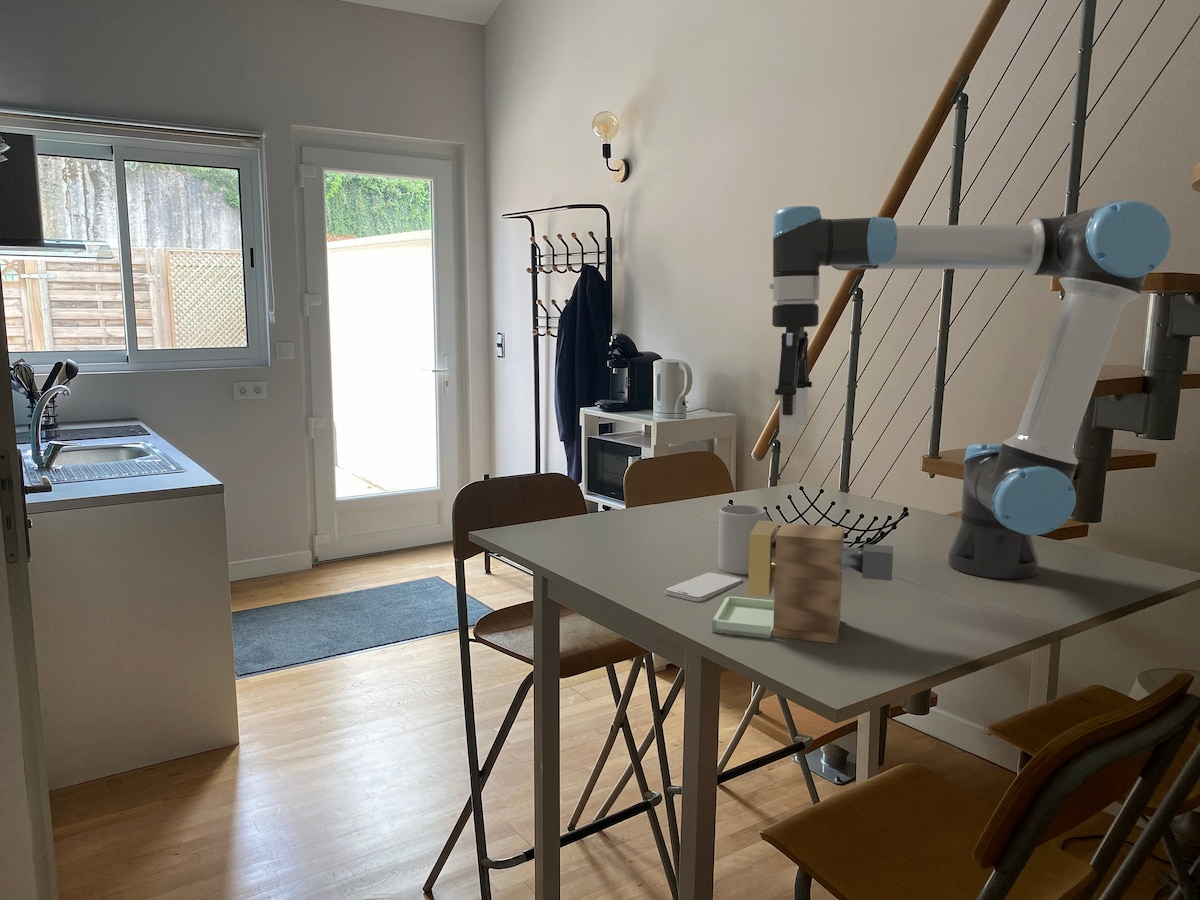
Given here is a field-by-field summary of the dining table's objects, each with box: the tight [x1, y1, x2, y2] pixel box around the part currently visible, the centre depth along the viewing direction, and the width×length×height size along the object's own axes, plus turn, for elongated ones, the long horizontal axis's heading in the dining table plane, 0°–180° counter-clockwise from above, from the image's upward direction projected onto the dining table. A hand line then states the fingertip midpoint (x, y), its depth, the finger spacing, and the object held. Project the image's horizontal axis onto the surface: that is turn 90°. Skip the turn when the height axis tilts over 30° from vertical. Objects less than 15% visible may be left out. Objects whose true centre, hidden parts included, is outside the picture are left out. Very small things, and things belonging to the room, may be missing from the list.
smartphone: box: [664, 572, 743, 603], centre depth 151 cm, size 7×1×15 cm
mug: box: [717, 504, 771, 576], centre depth 162 cm, size 12×8×11 cm
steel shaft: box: [771, 541, 894, 581], centre depth 129 cm, size 20×4×4 cm, turn 72°
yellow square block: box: [747, 520, 779, 599], centre depth 131 cm, size 3×9×9 cm, turn 162°
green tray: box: [711, 595, 774, 639], centre depth 134 cm, size 8×12×2 cm
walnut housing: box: [771, 522, 845, 644], centre depth 130 cm, size 9×10×15 cm
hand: (793, 429), depth 150 cm, fingers open, 13 cm apart
